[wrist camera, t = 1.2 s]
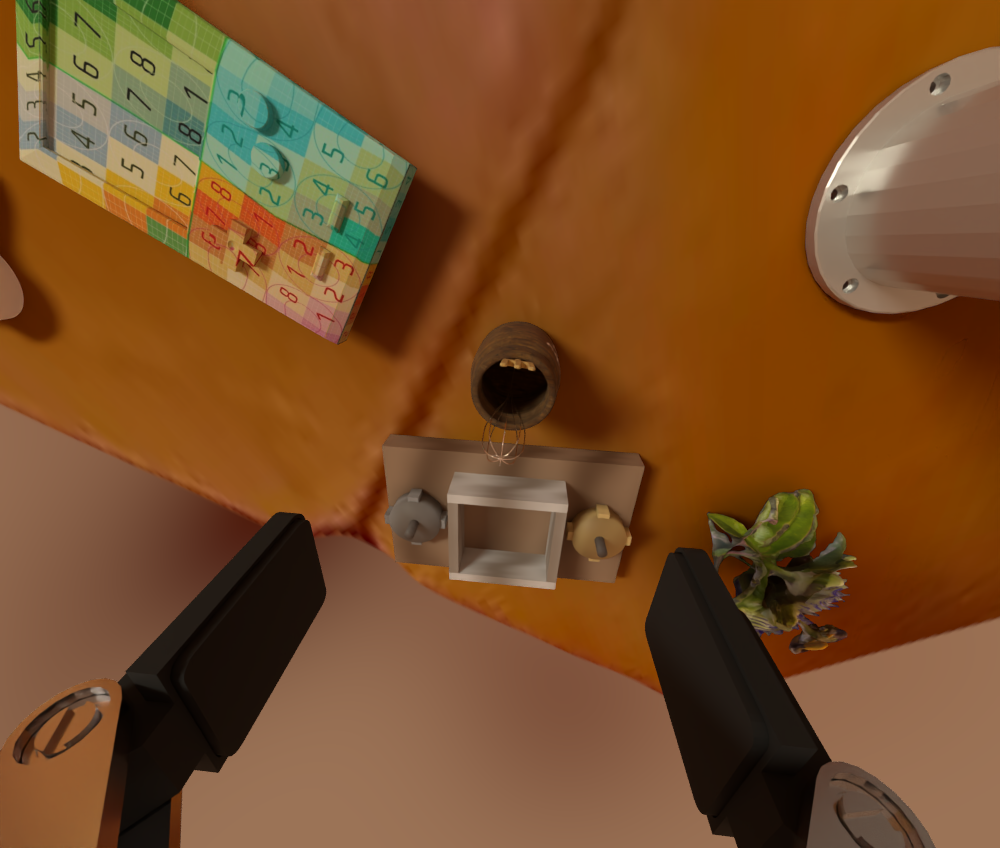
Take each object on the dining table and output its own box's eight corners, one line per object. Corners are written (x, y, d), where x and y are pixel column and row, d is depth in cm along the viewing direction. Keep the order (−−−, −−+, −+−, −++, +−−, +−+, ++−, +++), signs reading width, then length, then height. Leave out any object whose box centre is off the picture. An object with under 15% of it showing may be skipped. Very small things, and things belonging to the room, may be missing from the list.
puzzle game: (330, 348, 24) (-2, 156, 20) (361, 332, 28) (90, 171, 25) (405, 160, 19) (-16, -133, 16) (428, 175, 23) (101, -54, 20)
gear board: (638, 453, 30) (656, 490, 26) (610, 566, 36) (621, 611, 32) (390, 434, 31) (367, 466, 27) (402, 546, 37) (384, 587, 33)
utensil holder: (475, 390, 29) (442, 477, 18) (483, 309, 26) (449, 355, 15) (549, 400, 29) (558, 494, 18) (565, 320, 26) (587, 375, 15)
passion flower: (730, 519, 39) (736, 646, 34) (660, 482, 35) (654, 618, 30) (869, 507, 30) (908, 680, 24) (793, 455, 26) (819, 645, 21)
